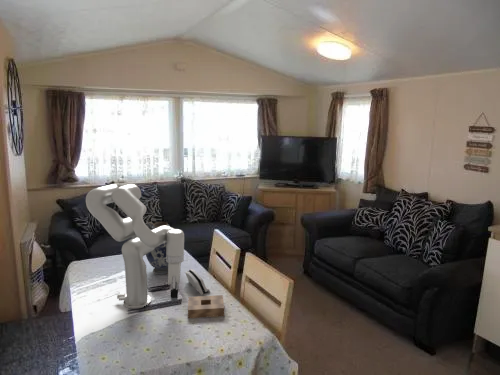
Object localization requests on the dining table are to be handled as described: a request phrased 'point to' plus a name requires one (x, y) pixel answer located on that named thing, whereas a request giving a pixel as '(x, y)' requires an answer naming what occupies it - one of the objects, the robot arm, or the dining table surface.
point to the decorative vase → (158, 253)
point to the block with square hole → (205, 306)
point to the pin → (174, 298)
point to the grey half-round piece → (196, 281)
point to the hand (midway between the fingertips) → (174, 295)
